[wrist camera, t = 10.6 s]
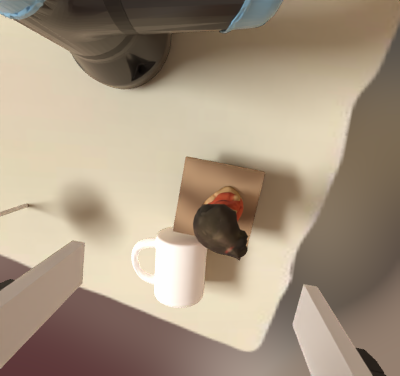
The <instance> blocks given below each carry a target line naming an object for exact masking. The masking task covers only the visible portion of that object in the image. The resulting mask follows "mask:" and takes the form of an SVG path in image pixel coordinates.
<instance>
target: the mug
mask: <svg viewBox="0 0 400 376" xmlns="http://www.w3.org/2000/svg"><path fill="white" fill-rule="evenodd" d="M173 228H174V227H168V228H165V229H162V230H160V231H159V232H158V233H157V236H156V238H146V239H142V240H140V241H139V242H137V243H136V245H135V246H134V248H133V250H132V256H131V258H132V265H133V268H134V270H135V272H136V273H137V275H138V276H139V277H140V278H141V279H143V280H144V281H146V282H148V283H151V284H154V285H155V287H154V294H155V297H156V298H157V300H158V301H159V302H161V303H162V304H164V305H167V306H170V307H175V308H184V307H189V306H192V305H194V304H196V303H198V302H199V301H200V300H201V299H202V297H203V293H204V281H205V269H206V257H207V248H206V247H204V246H203V245H202V244H201V243H200V242H199V241H198V240H197V239H196V237H195V236H192V235H188V234H183V233H178V232H174V231H173ZM151 247H155V248H156V260H155V275H154V274H150V273H147V272H145V271H144V270H143V269H142V268H141V267H140V264H139V259H138V254H139V251H140V250H142V249H145V248H151Z"/></svg>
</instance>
